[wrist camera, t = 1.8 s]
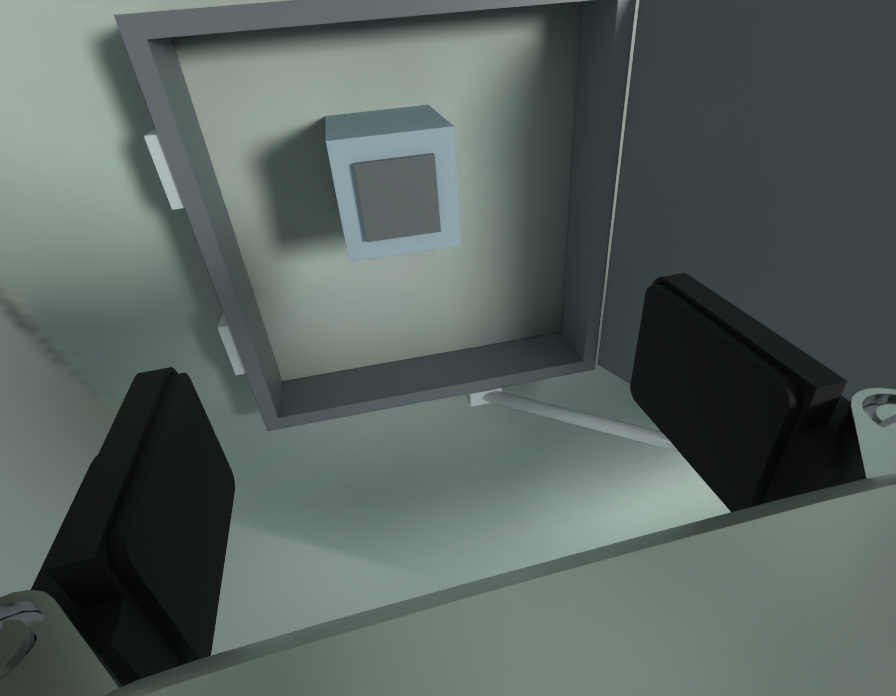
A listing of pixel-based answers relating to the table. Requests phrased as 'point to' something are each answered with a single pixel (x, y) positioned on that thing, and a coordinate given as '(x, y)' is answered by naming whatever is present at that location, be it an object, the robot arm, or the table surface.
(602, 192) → the case
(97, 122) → the table surface
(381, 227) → the module
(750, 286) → the lid
